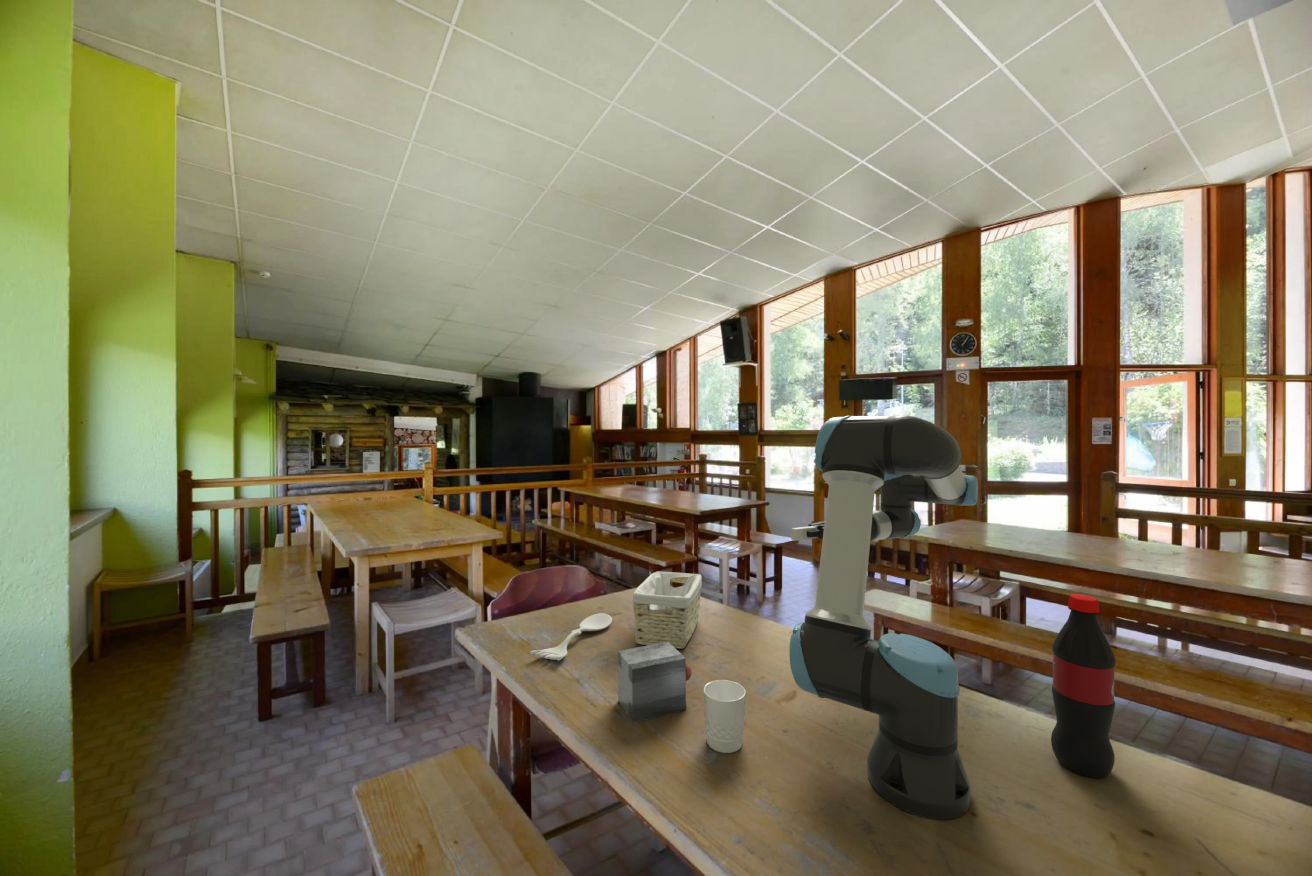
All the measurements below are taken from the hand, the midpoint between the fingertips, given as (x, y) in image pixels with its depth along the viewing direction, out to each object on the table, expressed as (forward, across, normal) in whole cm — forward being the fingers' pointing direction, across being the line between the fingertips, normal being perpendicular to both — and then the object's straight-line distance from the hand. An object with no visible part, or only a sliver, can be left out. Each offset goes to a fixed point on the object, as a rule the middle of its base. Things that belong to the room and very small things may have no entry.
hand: (793, 534), depth 120 cm
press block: (+37, +1, -34) cm, 50 cm away
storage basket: (+17, +35, -34) cm, 52 cm away
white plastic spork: (+43, +40, -34) cm, 68 cm away
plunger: (+34, +1, -30) cm, 45 cm away
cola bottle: (-26, -46, -34) cm, 63 cm away
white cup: (+29, -16, -34) cm, 47 cm away
